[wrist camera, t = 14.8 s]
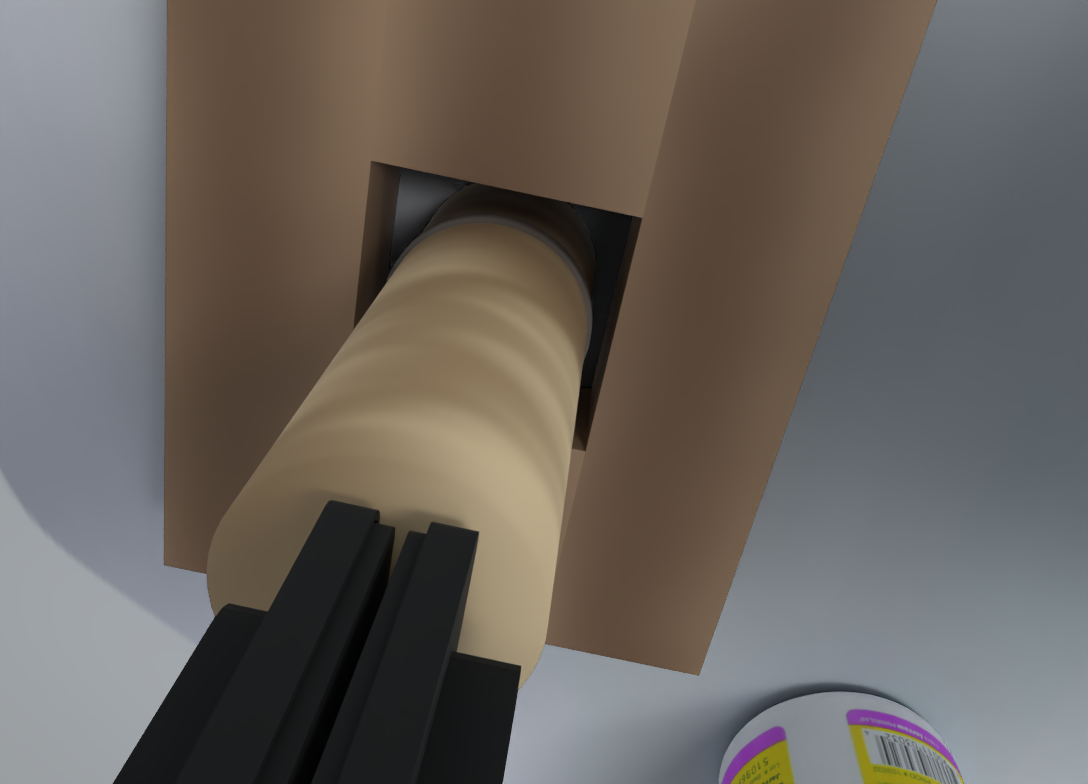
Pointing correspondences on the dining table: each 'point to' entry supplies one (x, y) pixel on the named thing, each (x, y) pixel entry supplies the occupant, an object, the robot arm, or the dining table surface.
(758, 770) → the supplement bottle
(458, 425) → the peg
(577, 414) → the board
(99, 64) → the dining table surface
